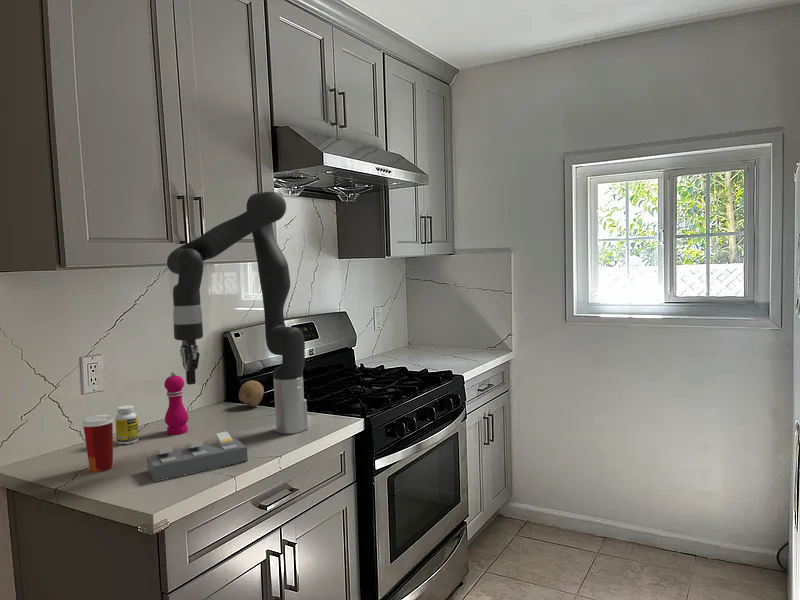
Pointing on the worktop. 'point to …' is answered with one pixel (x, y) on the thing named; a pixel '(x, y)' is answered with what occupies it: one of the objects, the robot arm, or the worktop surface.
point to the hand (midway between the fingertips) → (191, 383)
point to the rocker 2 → (224, 438)
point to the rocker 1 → (164, 450)
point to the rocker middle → (195, 444)
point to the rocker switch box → (195, 459)
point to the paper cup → (99, 442)
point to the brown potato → (251, 393)
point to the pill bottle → (126, 425)
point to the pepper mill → (175, 405)
